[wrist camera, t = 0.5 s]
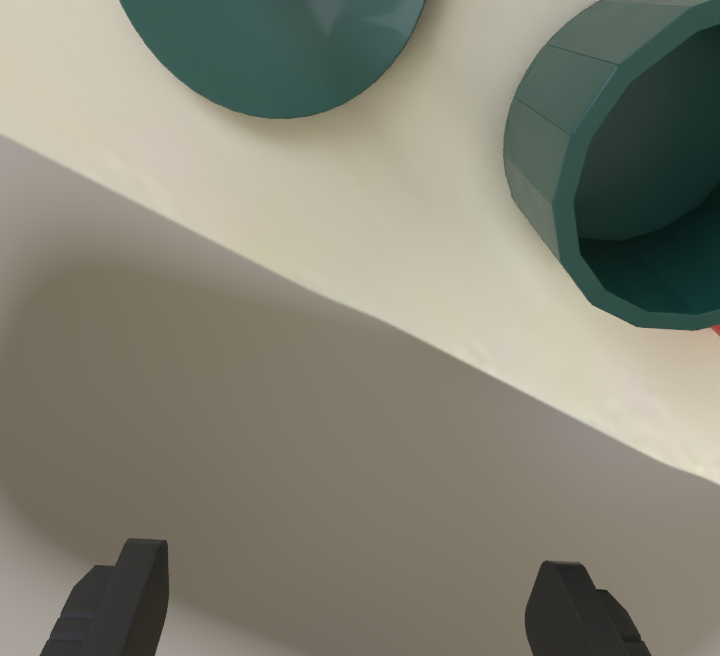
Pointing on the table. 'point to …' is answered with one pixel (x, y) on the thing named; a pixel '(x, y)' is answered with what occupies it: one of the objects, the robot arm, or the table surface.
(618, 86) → the tin
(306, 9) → the lid
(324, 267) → the table surface
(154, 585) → the robot arm
